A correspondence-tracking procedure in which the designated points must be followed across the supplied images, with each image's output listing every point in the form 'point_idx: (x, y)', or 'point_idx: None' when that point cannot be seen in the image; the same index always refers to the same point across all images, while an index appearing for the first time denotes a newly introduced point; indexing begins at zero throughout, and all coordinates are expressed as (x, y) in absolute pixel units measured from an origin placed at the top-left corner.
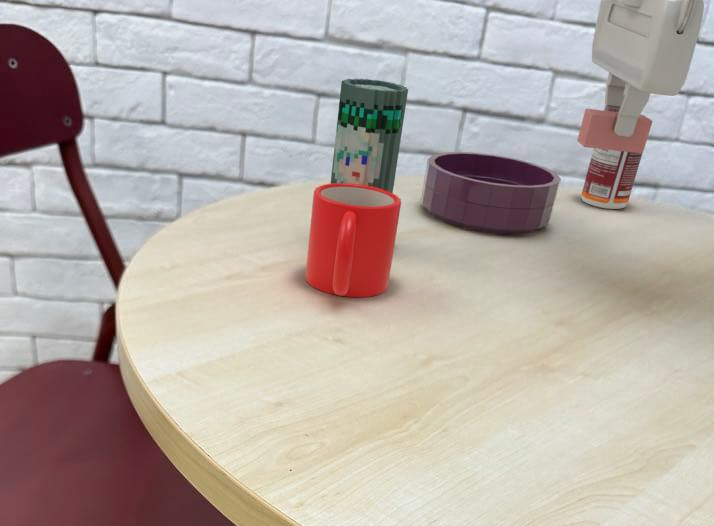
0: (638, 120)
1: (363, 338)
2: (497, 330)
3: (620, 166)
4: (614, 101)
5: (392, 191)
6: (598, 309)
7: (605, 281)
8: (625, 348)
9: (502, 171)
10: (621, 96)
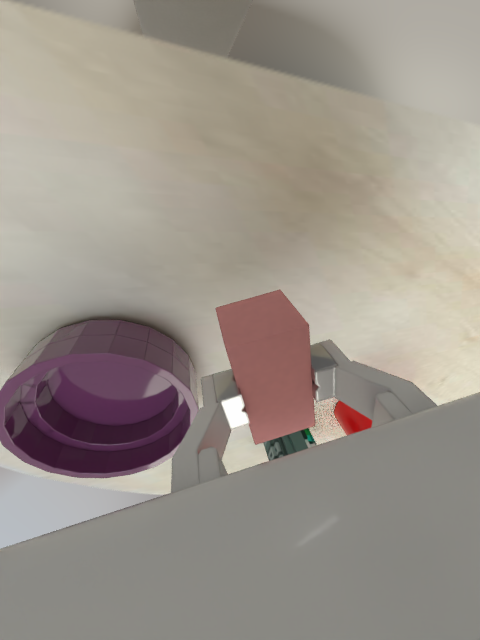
0: (310, 352)
1: (440, 372)
2: (427, 314)
3: None
4: (223, 429)
5: (296, 449)
6: (374, 241)
7: (286, 234)
8: (459, 216)
9: (18, 416)
10: (212, 433)
